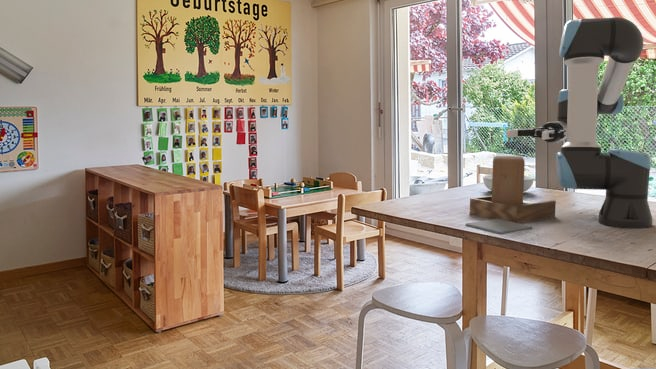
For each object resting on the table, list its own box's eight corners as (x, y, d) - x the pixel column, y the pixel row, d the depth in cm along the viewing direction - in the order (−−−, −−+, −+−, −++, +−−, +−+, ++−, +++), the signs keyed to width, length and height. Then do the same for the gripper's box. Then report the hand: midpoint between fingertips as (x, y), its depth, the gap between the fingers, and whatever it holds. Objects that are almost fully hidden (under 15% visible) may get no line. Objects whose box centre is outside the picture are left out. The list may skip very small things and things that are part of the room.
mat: (532, 228, 168) (532, 226, 168) (500, 233, 161) (500, 231, 161) (496, 220, 180) (497, 218, 180) (465, 225, 173) (465, 223, 173)
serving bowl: (543, 193, 234) (543, 177, 233) (513, 198, 222) (514, 181, 221) (501, 187, 251) (502, 172, 250) (472, 192, 239) (472, 176, 238)
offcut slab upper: (542, 209, 188) (542, 203, 188) (536, 211, 186) (536, 204, 186) (522, 206, 195) (522, 200, 194) (516, 207, 193) (516, 201, 192)
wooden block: (491, 217, 185) (493, 158, 182) (491, 212, 194) (493, 155, 191) (522, 219, 182) (524, 159, 179) (521, 213, 191) (523, 156, 188)
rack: (554, 216, 185) (555, 200, 184) (513, 223, 174) (514, 206, 174) (509, 208, 201) (510, 193, 200) (469, 213, 191) (470, 198, 190)
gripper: (587, 143, 196) (558, 147, 182) (523, 140, 214) (492, 143, 201) (588, 122, 194) (559, 124, 181) (524, 121, 213) (493, 123, 200)
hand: (524, 134), depth 191 cm, fingers open, 13 cm apart
